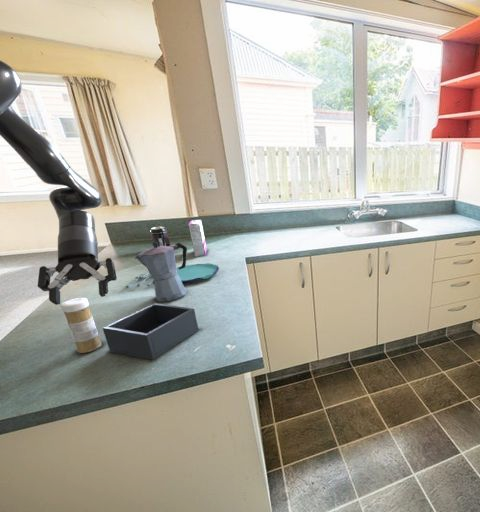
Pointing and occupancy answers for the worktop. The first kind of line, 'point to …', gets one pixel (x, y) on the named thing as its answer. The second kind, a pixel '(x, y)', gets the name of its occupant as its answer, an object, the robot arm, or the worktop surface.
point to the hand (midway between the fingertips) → (80, 299)
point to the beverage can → (160, 236)
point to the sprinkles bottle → (81, 324)
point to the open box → (151, 330)
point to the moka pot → (164, 270)
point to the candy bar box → (197, 237)
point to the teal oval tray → (187, 273)
